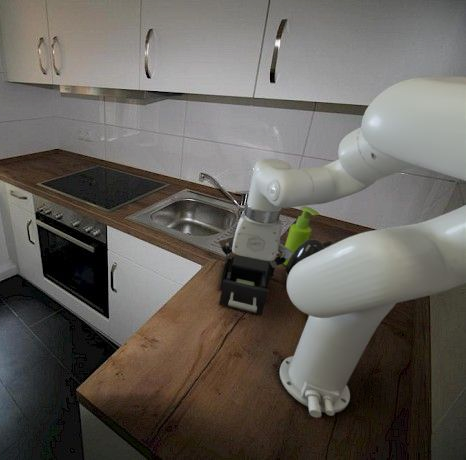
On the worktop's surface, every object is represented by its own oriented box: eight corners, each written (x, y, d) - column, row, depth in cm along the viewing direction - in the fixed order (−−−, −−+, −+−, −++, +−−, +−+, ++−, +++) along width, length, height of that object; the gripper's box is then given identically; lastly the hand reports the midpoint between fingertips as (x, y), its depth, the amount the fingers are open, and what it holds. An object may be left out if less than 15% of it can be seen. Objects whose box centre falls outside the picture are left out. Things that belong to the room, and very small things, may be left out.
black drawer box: (263, 300, 88) (271, 272, 84) (219, 290, 92) (224, 262, 88) (264, 274, 99) (271, 248, 95) (224, 265, 103) (229, 240, 99)
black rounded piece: (328, 292, 91) (346, 247, 84) (296, 296, 90) (312, 250, 83) (305, 272, 100) (319, 230, 93) (275, 275, 99) (287, 232, 92)
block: (250, 305, 83) (253, 292, 81) (232, 301, 85) (235, 287, 83) (250, 295, 87) (254, 282, 85) (233, 291, 88) (236, 278, 86)
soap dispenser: (291, 270, 101) (309, 214, 92) (276, 258, 107) (292, 205, 98) (306, 267, 102) (325, 212, 93) (291, 256, 108) (307, 203, 99)
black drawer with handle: (261, 328, 77) (268, 304, 74) (216, 316, 81) (221, 293, 77) (262, 287, 92) (268, 265, 88) (223, 279, 95) (228, 257, 92)
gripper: (222, 213, 74) (212, 273, 82) (305, 225, 68) (285, 289, 76) (225, 201, 80) (215, 259, 88) (301, 212, 74) (284, 272, 82)
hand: (248, 273), depth 82 cm, fingers open, 8 cm apart
